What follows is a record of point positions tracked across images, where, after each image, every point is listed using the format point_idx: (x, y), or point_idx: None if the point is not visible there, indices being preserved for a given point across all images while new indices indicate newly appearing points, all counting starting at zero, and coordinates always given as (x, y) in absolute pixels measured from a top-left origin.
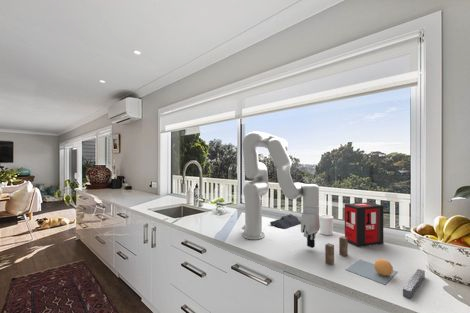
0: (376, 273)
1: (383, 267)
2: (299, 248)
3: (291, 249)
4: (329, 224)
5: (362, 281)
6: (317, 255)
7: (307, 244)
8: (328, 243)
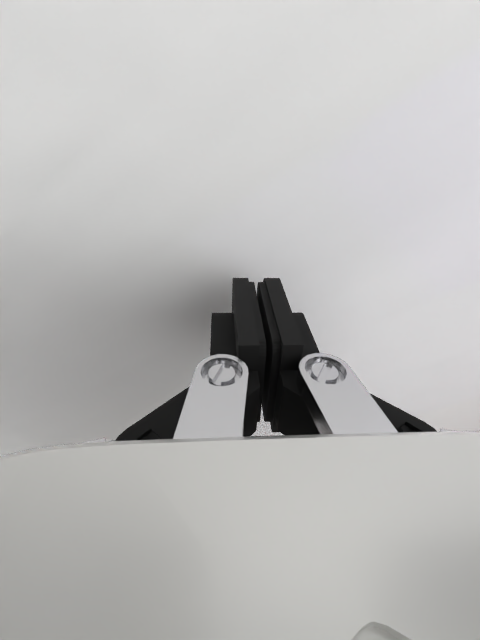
0: None
1: None
2: (168, 171)
3: (20, 96)
4: None
5: None
6: (177, 391)
7: (234, 292)
8: None
